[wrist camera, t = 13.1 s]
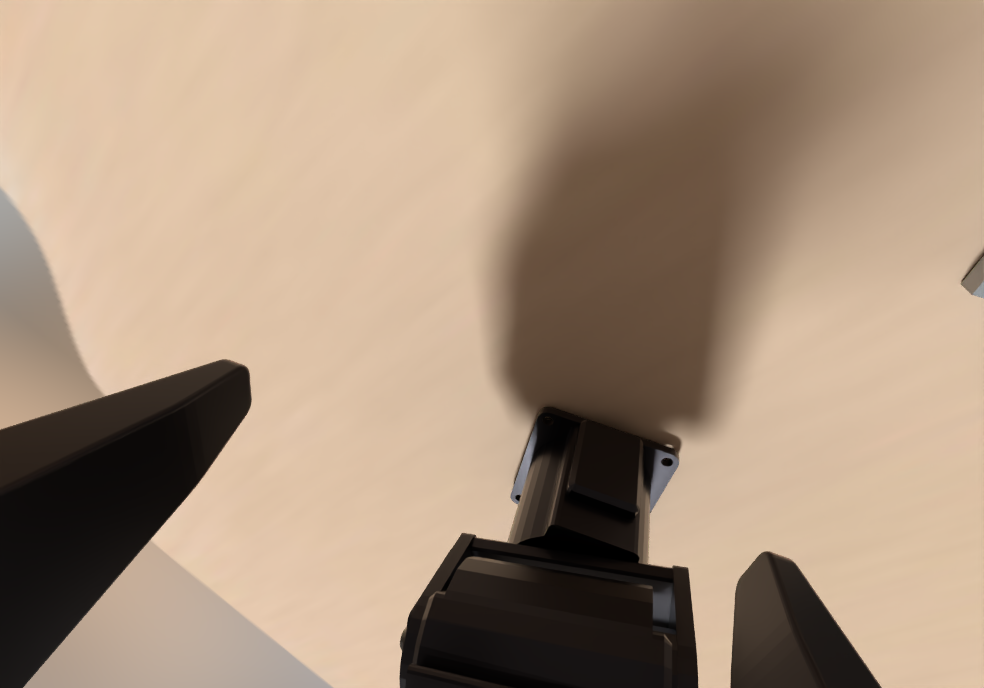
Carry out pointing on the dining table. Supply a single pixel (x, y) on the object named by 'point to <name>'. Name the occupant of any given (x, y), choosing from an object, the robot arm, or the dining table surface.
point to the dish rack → (975, 280)
